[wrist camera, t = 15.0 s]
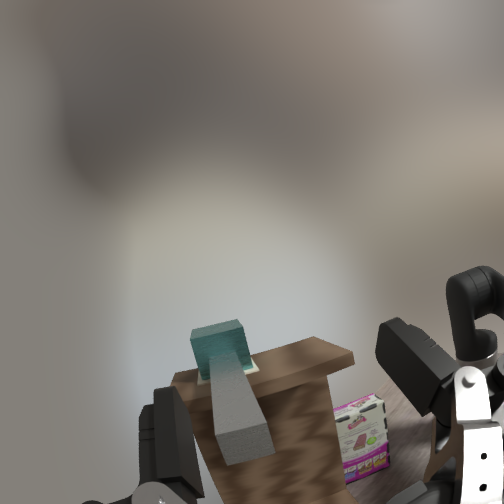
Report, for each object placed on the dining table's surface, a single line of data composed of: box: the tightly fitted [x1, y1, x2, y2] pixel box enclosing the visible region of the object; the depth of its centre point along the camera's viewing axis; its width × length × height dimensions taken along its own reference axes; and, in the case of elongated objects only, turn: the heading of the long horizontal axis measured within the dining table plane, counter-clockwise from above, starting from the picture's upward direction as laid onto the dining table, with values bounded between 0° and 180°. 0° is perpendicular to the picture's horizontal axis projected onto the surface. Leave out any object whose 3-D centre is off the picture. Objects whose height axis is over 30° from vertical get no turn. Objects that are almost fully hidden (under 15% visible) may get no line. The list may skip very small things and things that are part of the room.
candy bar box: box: [333, 393, 390, 485], centre depth 41 cm, size 11×5×16 cm, turn 93°
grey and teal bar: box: [190, 319, 275, 466], centre depth 25 cm, size 6×23×5 cm, turn 9°
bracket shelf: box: [170, 337, 359, 504], centre depth 31 cm, size 20×12×32 cm, turn 99°
